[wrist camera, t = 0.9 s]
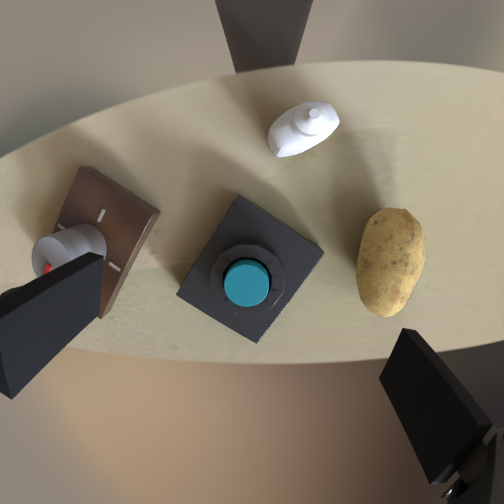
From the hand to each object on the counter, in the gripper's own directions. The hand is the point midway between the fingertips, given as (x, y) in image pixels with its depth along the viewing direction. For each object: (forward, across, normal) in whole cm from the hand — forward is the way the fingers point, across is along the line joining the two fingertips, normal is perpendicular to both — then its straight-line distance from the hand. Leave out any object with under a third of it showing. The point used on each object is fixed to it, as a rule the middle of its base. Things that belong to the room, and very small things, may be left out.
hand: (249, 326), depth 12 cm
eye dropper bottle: (+21, +1, +10) cm, 23 cm away
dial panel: (+20, -17, -5) cm, 27 cm away
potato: (+21, +13, +1) cm, 25 cm away
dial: (+18, -17, -5) cm, 25 cm away
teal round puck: (+17, 0, -4) cm, 17 cm away
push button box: (+20, 0, -4) cm, 21 cm away
